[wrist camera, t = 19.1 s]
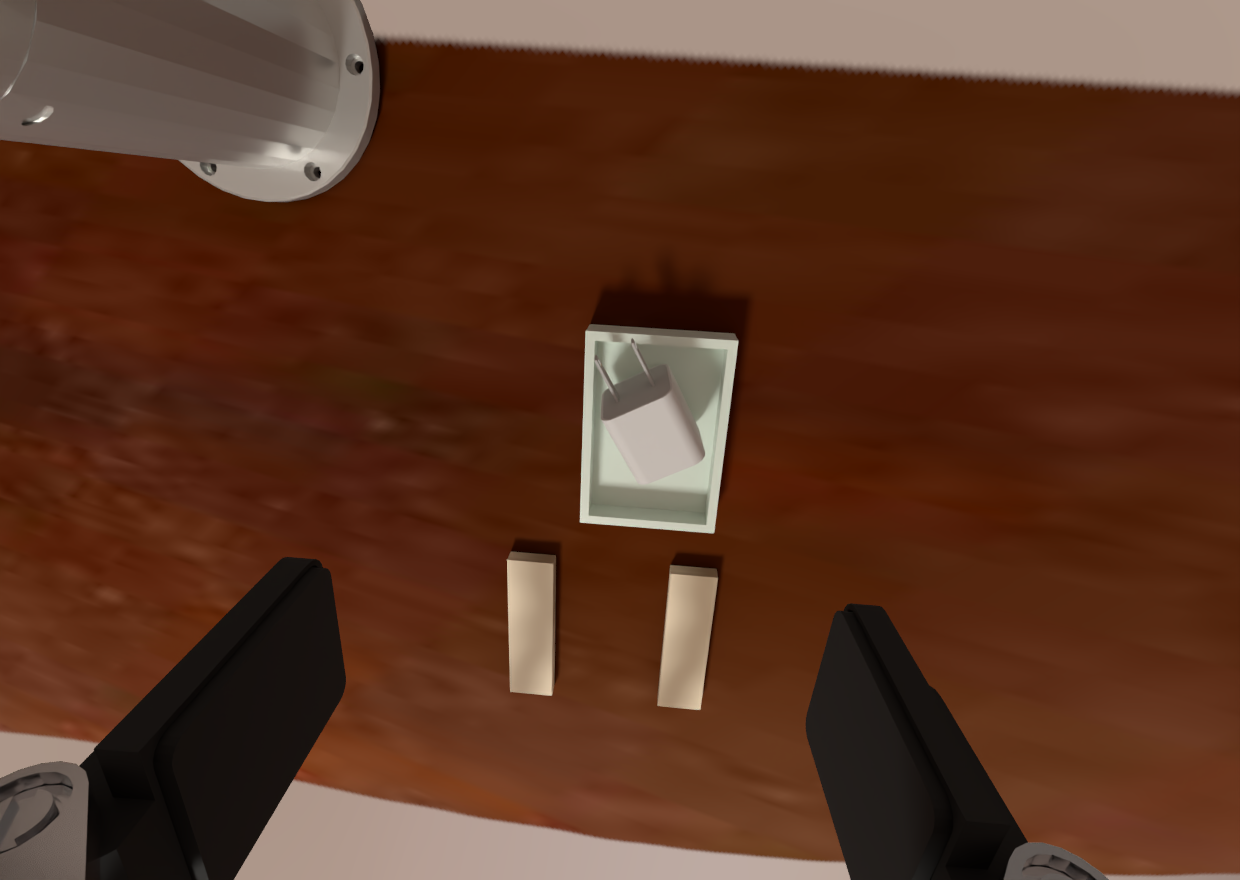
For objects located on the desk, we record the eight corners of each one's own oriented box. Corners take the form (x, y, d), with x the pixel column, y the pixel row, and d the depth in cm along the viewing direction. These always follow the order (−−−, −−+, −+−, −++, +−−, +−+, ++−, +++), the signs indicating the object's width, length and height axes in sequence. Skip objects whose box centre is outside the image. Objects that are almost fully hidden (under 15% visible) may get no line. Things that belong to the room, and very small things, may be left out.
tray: (584, 506, 37) (579, 522, 35) (590, 323, 32) (585, 330, 30) (711, 517, 36) (714, 533, 34) (734, 333, 32) (738, 340, 30)
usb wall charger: (635, 449, 34) (637, 488, 31) (580, 350, 31) (575, 381, 28) (697, 423, 33) (706, 460, 30) (647, 319, 30) (651, 347, 27)
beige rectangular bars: (513, 681, 42) (510, 691, 41) (511, 551, 38) (507, 559, 37) (699, 698, 42) (700, 710, 41) (716, 568, 38) (717, 577, 37)
